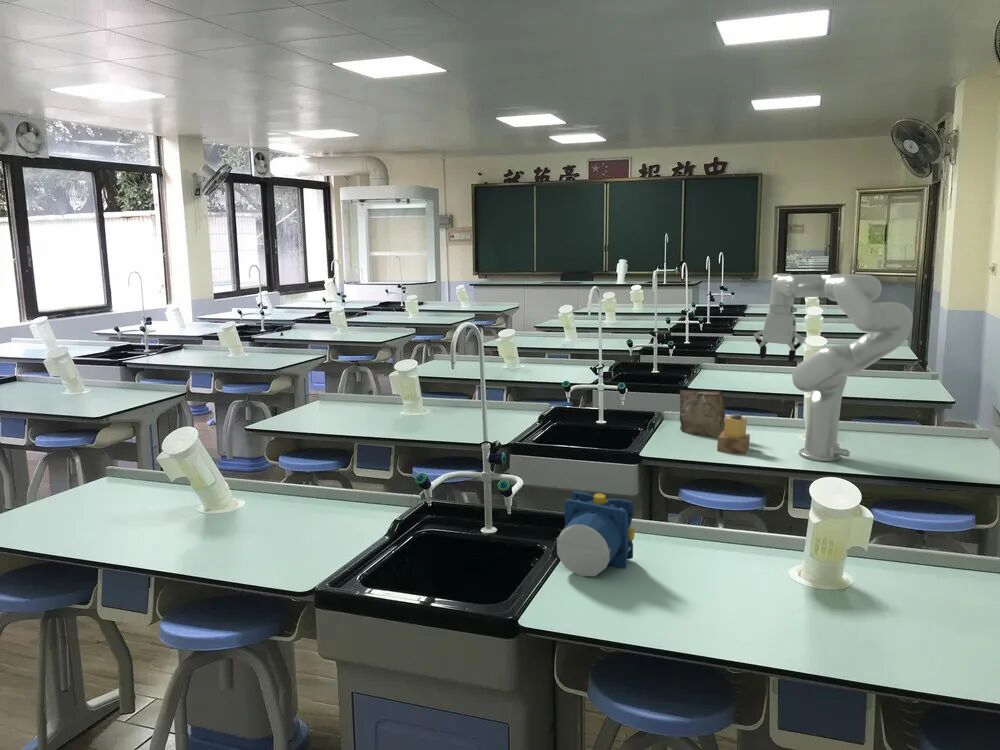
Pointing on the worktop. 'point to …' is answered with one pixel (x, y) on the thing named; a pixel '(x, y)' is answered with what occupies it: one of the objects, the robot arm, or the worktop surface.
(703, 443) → the worktop surface
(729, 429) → the canister
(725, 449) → the specimen box
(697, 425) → the mineral sample
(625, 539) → the valve
